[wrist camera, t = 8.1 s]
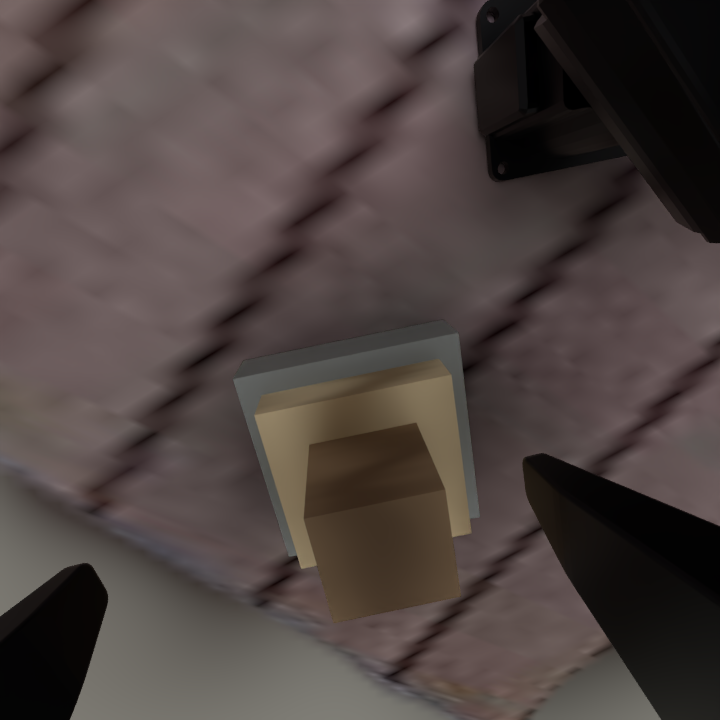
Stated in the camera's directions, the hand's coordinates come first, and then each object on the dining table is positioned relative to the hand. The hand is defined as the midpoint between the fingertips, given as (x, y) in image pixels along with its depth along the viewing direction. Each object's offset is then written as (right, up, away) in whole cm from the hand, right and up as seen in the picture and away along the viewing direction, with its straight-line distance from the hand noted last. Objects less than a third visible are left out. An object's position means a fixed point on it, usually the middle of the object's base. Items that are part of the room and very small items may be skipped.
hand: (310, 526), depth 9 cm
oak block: (+1, -1, +11) cm, 12 cm away
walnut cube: (+2, -2, +10) cm, 10 cm away
